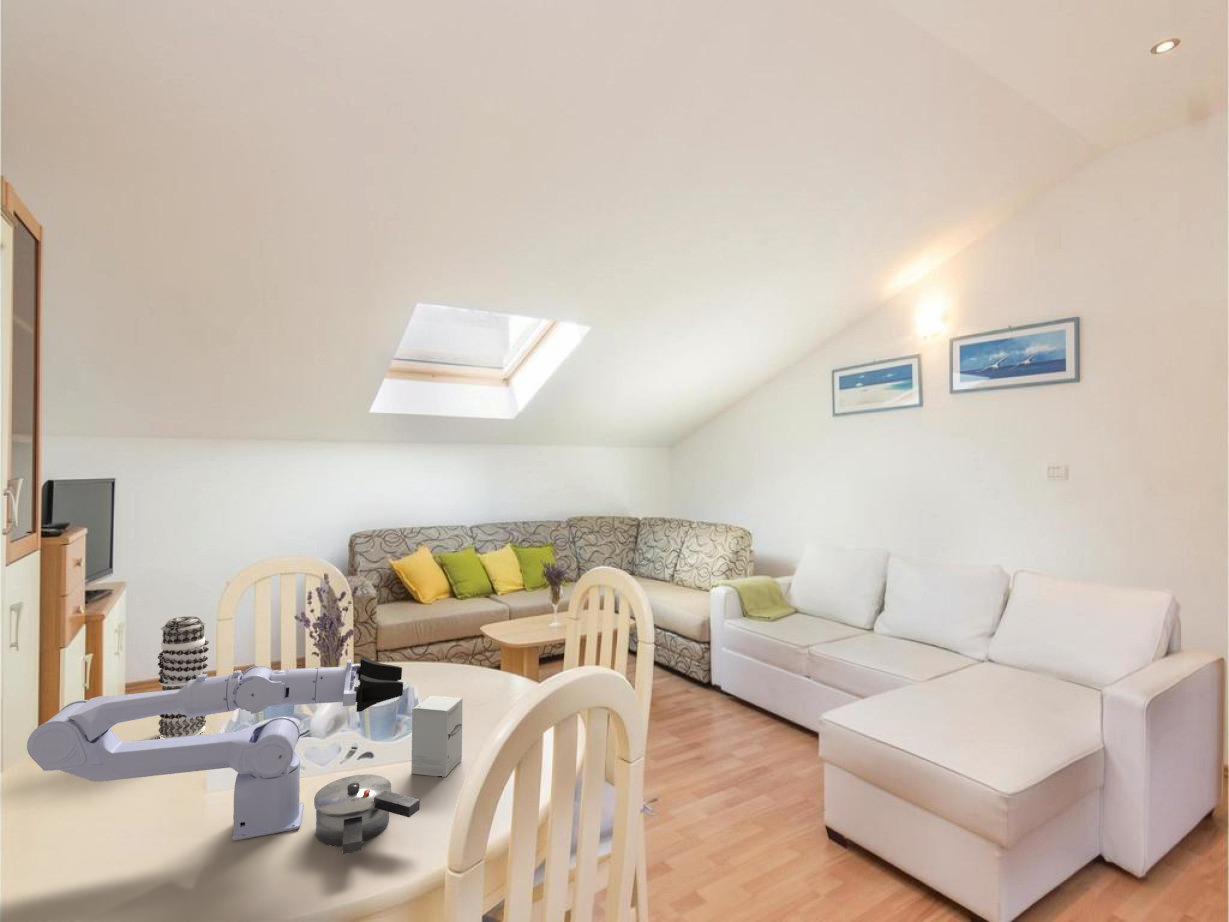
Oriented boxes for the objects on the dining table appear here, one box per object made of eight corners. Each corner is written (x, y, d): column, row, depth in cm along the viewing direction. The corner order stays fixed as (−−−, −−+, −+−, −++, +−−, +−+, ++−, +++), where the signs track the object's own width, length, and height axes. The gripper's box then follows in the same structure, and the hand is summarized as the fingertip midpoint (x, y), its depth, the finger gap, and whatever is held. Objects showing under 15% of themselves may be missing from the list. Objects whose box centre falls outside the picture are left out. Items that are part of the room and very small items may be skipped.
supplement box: (446, 778, 120) (446, 711, 120) (410, 774, 121) (410, 707, 121) (463, 760, 127) (463, 697, 127) (429, 757, 129) (429, 694, 129)
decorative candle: (216, 730, 141) (217, 617, 141) (168, 746, 133) (170, 626, 133) (195, 721, 146) (196, 612, 146) (149, 736, 138) (150, 620, 138)
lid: (297, 806, 101) (297, 795, 101) (354, 773, 112) (354, 763, 112) (387, 833, 94) (387, 821, 94) (438, 795, 104) (438, 784, 104)
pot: (310, 880, 90) (310, 849, 90) (318, 815, 107) (318, 788, 107) (392, 863, 94) (392, 832, 94) (387, 803, 111) (387, 777, 111)
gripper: (314, 676, 100) (404, 672, 105) (322, 648, 114) (402, 645, 119) (311, 721, 100) (402, 714, 105) (320, 687, 114) (400, 683, 119)
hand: (402, 680), depth 112 cm, fingers open, 7 cm apart
